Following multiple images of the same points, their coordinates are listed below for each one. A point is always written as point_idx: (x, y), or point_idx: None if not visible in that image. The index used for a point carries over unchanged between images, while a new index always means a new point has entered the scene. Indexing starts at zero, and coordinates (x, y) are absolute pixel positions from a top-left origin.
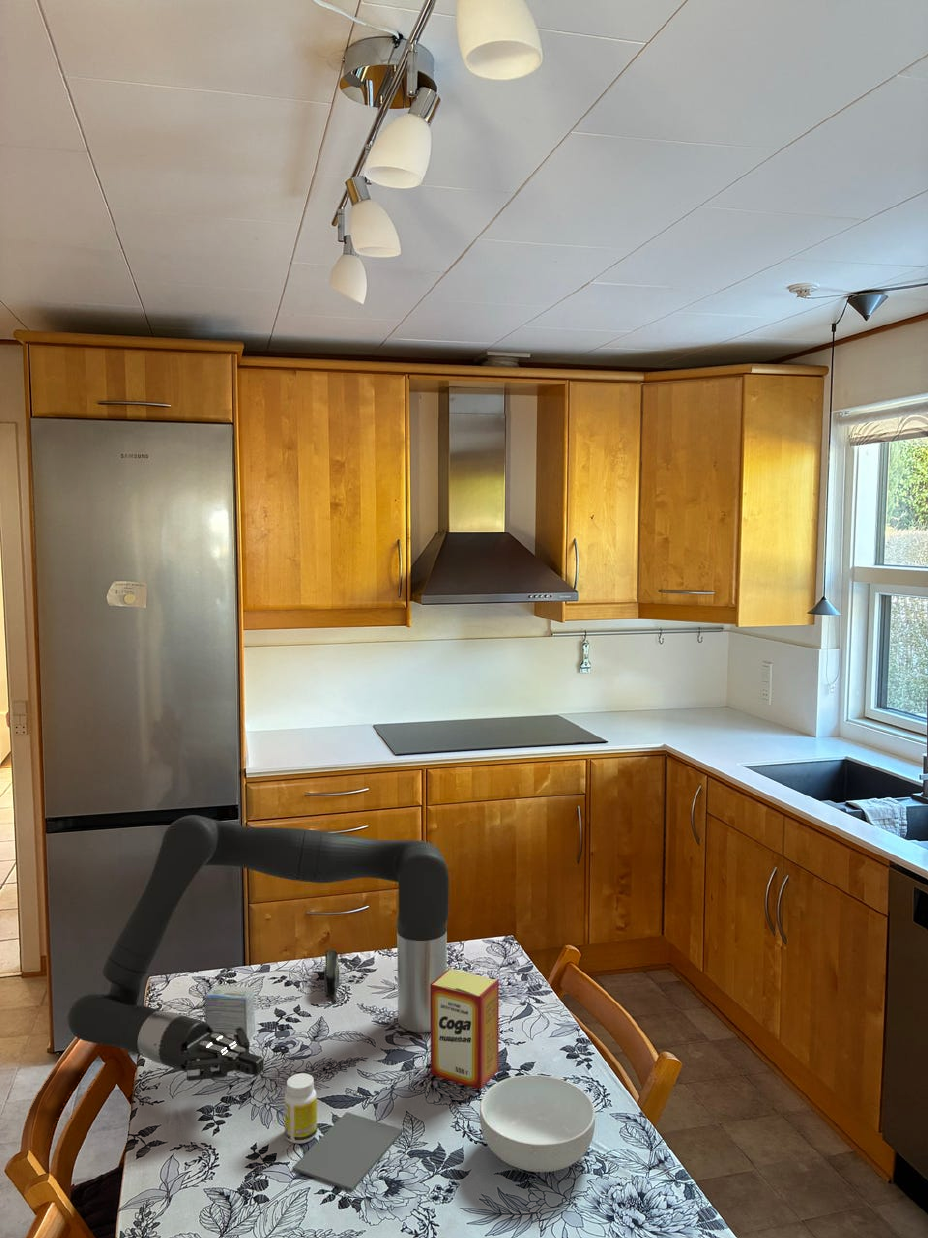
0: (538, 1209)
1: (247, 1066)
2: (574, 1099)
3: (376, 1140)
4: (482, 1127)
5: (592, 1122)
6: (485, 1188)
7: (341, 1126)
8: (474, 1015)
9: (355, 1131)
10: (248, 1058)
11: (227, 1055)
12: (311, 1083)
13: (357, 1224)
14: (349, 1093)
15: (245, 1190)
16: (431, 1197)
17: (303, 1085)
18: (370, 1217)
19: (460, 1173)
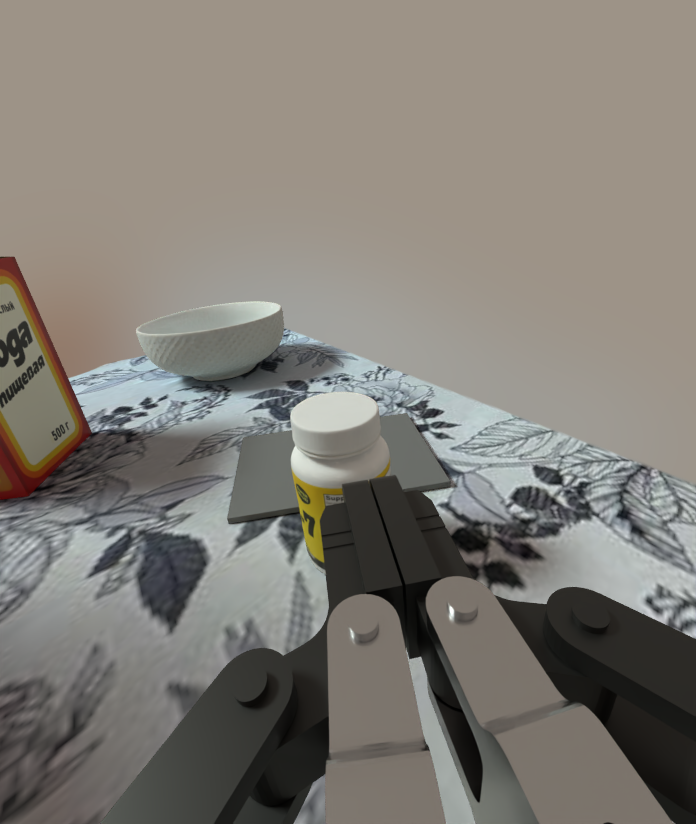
0: (305, 349)
1: (435, 511)
2: (164, 330)
3: (290, 443)
4: (256, 334)
5: (219, 304)
6: (303, 368)
7: (282, 496)
8: (24, 302)
9: (284, 473)
10: (402, 515)
11: (522, 648)
12: (326, 393)
13: (444, 392)
14: (128, 574)
15: (573, 505)
16: (348, 380)
17: (348, 394)
18: (423, 391)
19: (293, 383)
